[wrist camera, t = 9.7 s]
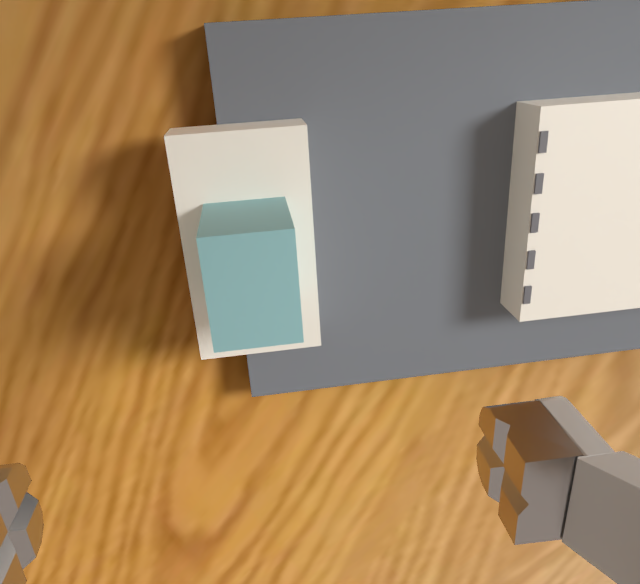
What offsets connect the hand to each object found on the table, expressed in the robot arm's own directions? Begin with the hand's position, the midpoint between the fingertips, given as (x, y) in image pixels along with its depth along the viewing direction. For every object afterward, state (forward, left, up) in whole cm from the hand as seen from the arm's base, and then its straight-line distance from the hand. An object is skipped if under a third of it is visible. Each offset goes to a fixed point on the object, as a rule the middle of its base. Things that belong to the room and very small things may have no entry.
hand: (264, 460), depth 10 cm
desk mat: (0, +11, -16) cm, 19 cm away
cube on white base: (0, 0, -14) cm, 14 cm away
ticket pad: (0, +16, -14) cm, 22 cm away
